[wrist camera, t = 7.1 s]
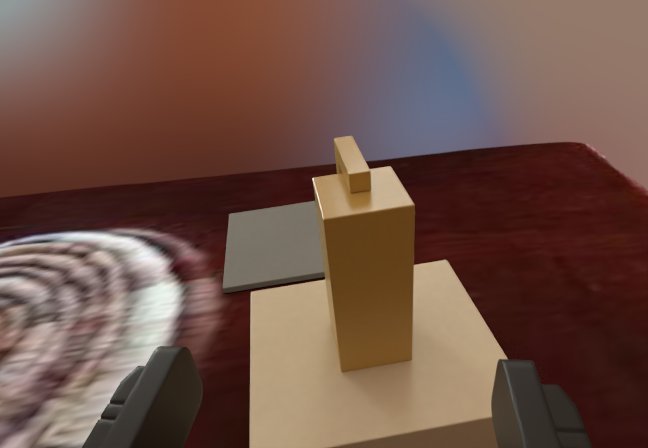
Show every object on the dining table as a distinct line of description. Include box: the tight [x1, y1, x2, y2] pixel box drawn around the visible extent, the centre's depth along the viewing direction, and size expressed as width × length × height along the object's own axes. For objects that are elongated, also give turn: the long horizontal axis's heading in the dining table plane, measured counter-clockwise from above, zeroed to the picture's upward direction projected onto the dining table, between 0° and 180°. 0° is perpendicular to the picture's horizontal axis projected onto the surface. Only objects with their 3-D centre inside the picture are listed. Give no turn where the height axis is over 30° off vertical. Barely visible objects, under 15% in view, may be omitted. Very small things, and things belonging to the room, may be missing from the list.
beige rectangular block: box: [250, 260, 507, 448], centre depth 27 cm, size 14×12×4 cm
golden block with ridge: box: [313, 136, 415, 372], centre depth 24 cm, size 4×6×11 cm, turn 7°
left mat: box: [223, 201, 325, 293], centre depth 42 cm, size 16×12×1 cm
